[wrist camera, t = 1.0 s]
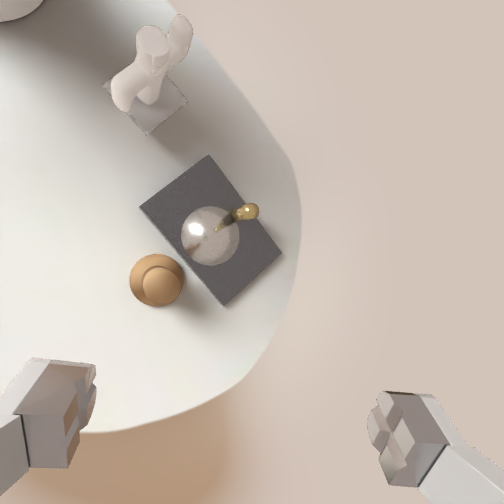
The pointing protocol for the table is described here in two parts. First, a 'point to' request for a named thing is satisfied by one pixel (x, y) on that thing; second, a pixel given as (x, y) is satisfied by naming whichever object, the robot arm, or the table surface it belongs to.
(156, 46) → the figurine
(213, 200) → the base plate
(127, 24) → the table surface
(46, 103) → the table surface
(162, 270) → the flange hub
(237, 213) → the dowel
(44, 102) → the table surface
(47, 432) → the robot arm
